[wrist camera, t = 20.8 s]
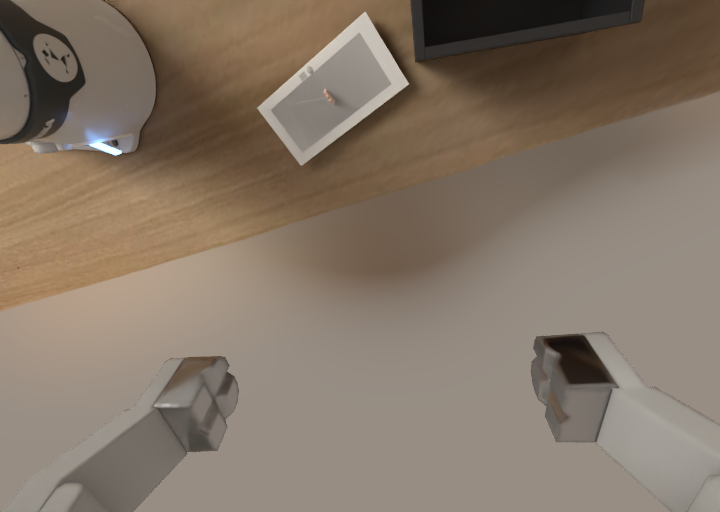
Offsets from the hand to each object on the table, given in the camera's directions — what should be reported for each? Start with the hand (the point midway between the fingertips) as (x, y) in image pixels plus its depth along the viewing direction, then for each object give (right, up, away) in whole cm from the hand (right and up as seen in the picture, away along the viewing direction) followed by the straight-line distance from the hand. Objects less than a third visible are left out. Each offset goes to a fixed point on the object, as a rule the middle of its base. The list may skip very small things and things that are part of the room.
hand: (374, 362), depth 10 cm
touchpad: (-3, +21, +31) cm, 37 cm away
